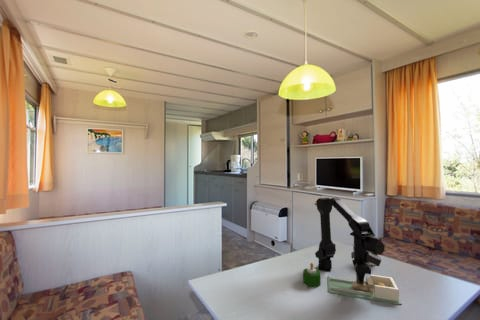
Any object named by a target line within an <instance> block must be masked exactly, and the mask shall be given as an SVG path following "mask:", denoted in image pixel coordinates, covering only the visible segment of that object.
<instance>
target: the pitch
mask: <svg viewBox="0 0 480 320" xmlns="http://www.w3.org/2000/svg"><path fill="white" fill-rule="evenodd" d="M369 278H371V280H372V282H373V285H374V294H372V293H369V292H368V291H363V290H357V289H354V288H353V280H354V279H352V280H351V279H346V278H339V277H333V276H327V283H328V284H327V286H328V287H327V289H328V290H327V291H328V293H330V294H334V295H335V294H337V295H342V296H348V297H352V298H353V297H354V298H359V299H364V300H365V299H366V300H372V301H375V302H376V301H377V302H383V303H388V304H393V305H394V304H395V305H400V306H402V302H401V300H400V289H399V288H398V286H397V284H396V282H395V281H394V279H393V277H392V276H384V275H383V276H382V275H377V274H372V273H371V274H369ZM378 283H383V284H384V285H385V286H380V285H377V284H378Z"/></svg>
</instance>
